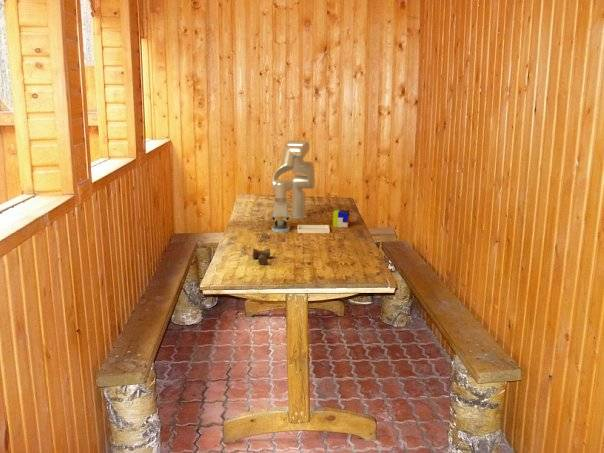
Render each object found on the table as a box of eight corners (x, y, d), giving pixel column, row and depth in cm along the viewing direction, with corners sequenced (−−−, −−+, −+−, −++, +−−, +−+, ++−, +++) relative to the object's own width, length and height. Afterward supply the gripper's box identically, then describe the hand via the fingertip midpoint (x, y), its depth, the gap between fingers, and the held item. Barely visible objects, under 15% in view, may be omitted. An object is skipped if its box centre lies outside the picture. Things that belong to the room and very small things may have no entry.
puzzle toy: (347, 227, 409) (347, 213, 407) (333, 226, 411) (333, 212, 409) (349, 224, 419) (349, 210, 416) (335, 223, 420) (335, 209, 418)
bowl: (272, 228, 404) (272, 225, 403) (289, 228, 404) (289, 225, 403) (271, 232, 392) (271, 229, 391) (289, 232, 392) (289, 229, 392)
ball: (277, 226, 400) (277, 219, 399) (284, 226, 400) (284, 219, 399) (276, 228, 395) (276, 221, 394) (284, 228, 395) (284, 221, 394)
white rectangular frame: (297, 228, 404) (297, 224, 404) (328, 228, 404) (328, 225, 404) (297, 233, 391) (297, 229, 391) (329, 233, 392) (329, 229, 391)
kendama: (254, 266, 318) (252, 255, 338) (271, 266, 320) (268, 255, 339) (254, 255, 317) (252, 245, 336) (272, 255, 318) (269, 245, 337)
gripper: (293, 199, 397) (293, 225, 401) (268, 199, 397) (268, 225, 401) (293, 201, 390) (293, 228, 394) (267, 201, 390) (267, 228, 394)
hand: (280, 226), depth 397 cm, fingers closed on ball, 5 cm apart
